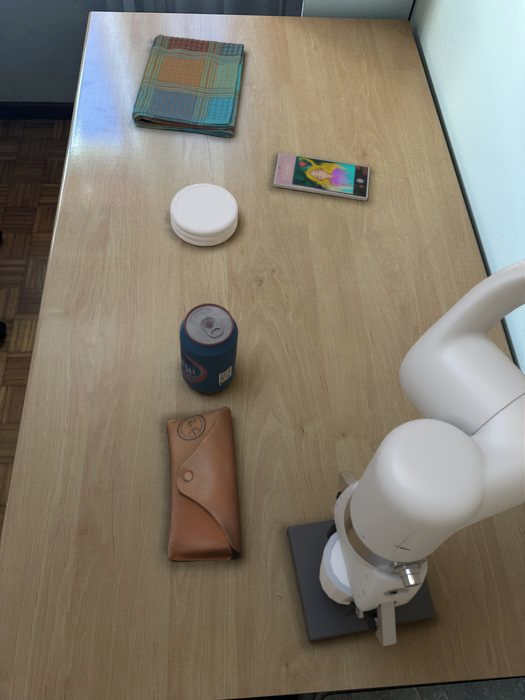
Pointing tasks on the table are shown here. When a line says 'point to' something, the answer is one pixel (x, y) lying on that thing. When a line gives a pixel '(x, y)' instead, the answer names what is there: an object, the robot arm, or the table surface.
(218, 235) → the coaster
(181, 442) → the sunglasses case
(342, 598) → the white cylinder
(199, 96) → the dish towel
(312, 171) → the smartphone
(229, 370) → the soda can
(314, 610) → the scale
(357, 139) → the table surface
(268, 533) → the table surface
